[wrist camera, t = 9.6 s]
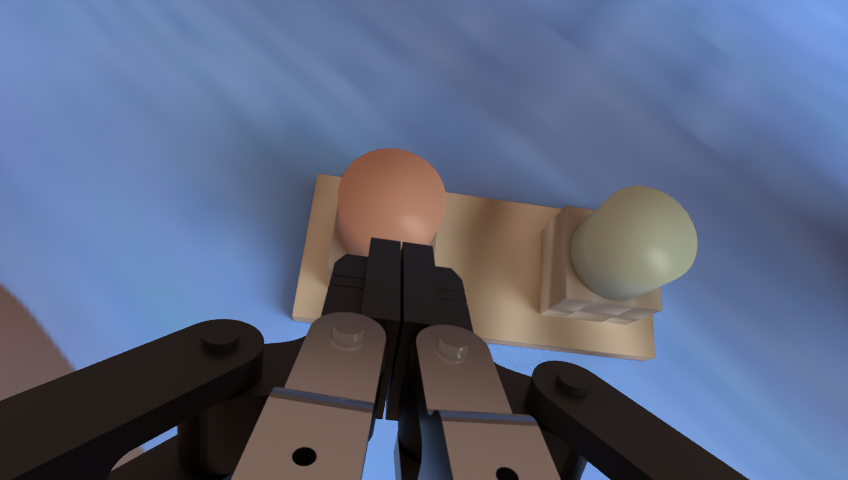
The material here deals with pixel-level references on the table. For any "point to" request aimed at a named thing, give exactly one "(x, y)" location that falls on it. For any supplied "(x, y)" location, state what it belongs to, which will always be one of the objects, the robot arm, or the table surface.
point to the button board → (501, 276)
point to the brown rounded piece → (389, 200)
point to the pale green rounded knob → (633, 244)
